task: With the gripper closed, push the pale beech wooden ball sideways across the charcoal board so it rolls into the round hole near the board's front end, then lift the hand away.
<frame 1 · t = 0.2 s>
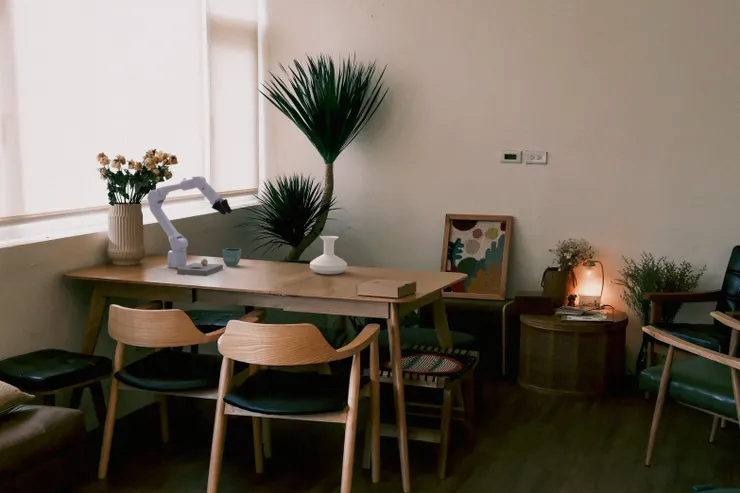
hand: (228, 212, 428), 30 cm above the table, tool tilted 45°, fingers open, 7 cm apart
flower pot: (231, 266, 447), on the table
board: (200, 271, 426), on the table
ball: (204, 262, 430), point 4 cm above the table, touching board
white vase: (328, 273, 432), on the table
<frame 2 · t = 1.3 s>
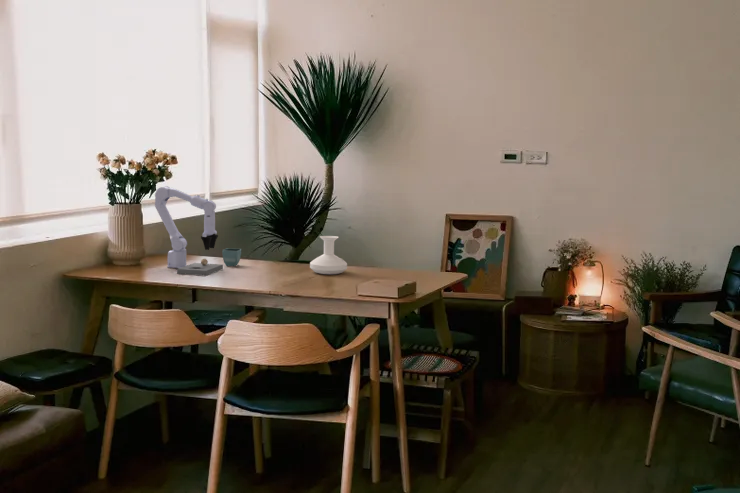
hand: (209, 248, 436), 10 cm above the table, tool pointing down, fingers open, 6 cm apart
nothing on the table moved.
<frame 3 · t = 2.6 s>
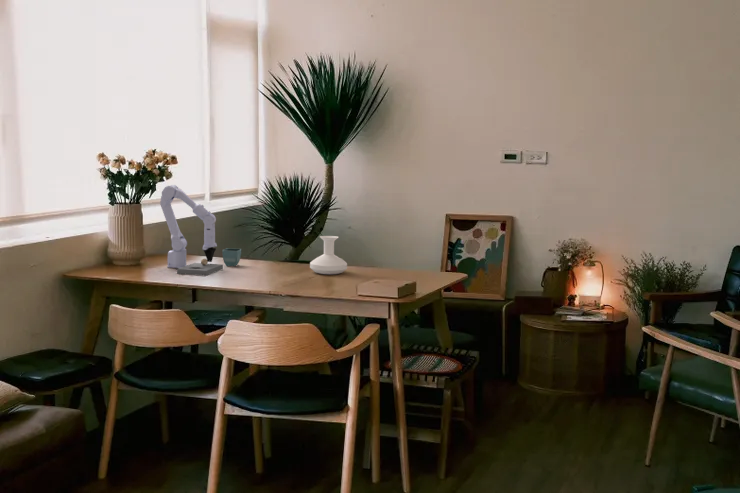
hand: (209, 261, 437), 3 cm above the table, tool pointing down, fingers closed
nothing on the table moved.
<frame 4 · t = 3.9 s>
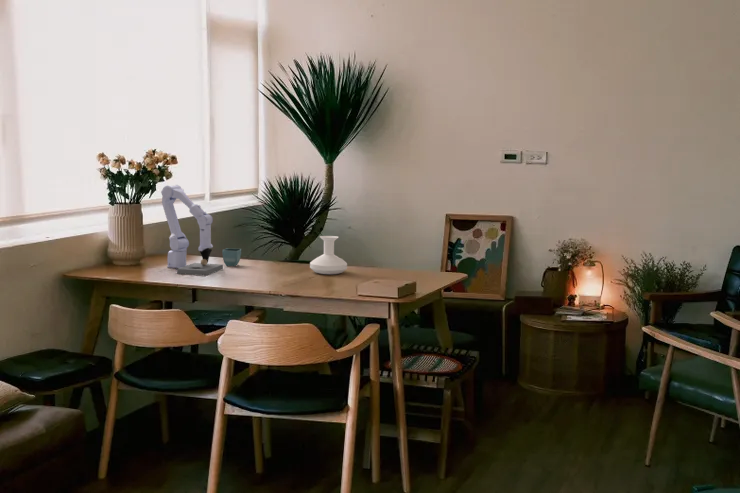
hand: (205, 262, 431), 4 cm above the table, tool pointing down, fingers closed, pressing on ball
ball: (204, 262, 429), point 4 cm above the table, tilted 17°, touching board, gripper
everything else where it was.
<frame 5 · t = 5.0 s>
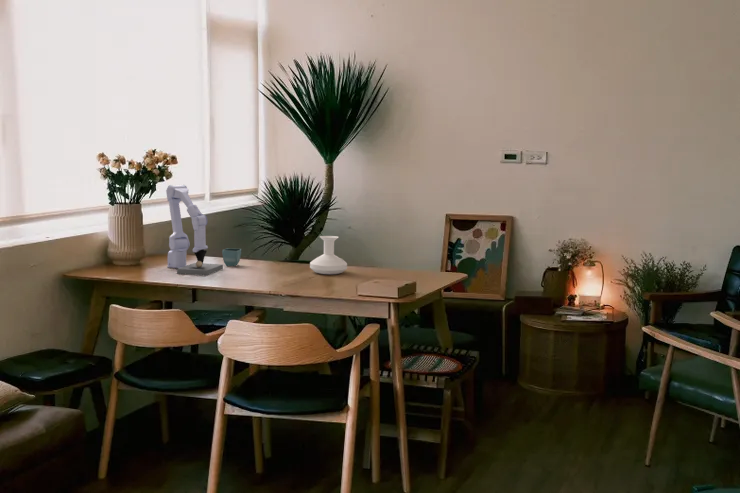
hand: (200, 264, 424), 4 cm above the table, tool pointing down, fingers closed, pressing on ball
ball: (199, 264, 423), point 4 cm above the table, tilted 113°, touching board, gripper
everything else where it was.
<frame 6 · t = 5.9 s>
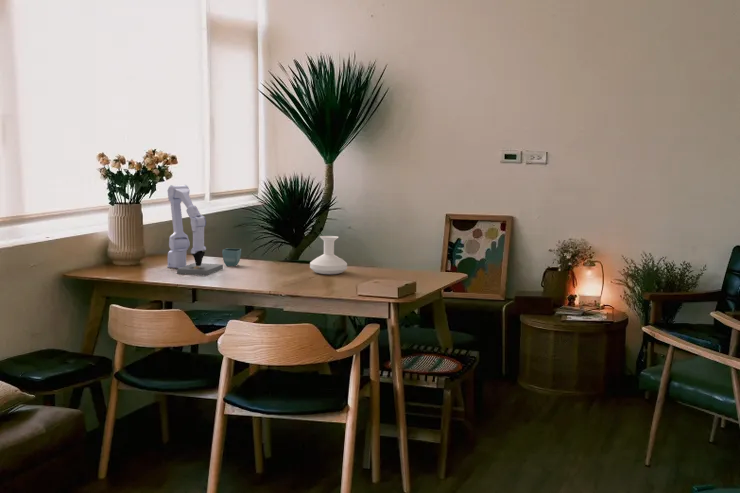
hand: (198, 265, 423), 3 cm above the table, tool pointing down, fingers closed
ball: (196, 269, 421), point 2 cm above the table, tilted 31°
everything else where it was.
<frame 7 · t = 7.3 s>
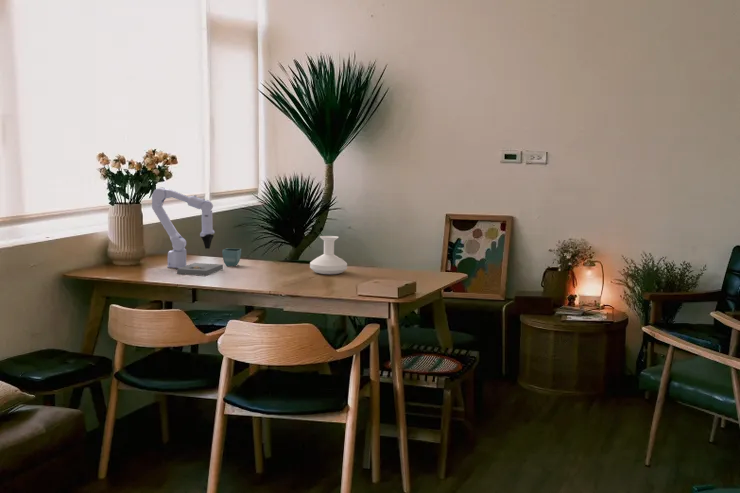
hand: (207, 248, 437), 10 cm above the table, tool pointing down, fingers closed
nothing on the table moved.
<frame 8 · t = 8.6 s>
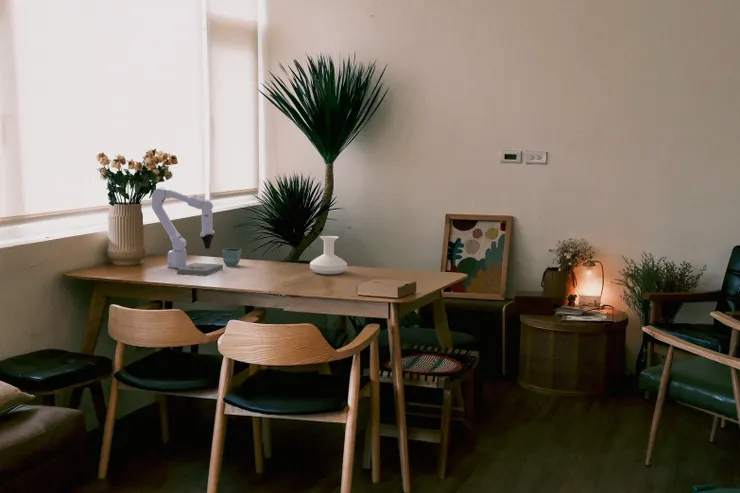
hand: (207, 248, 437), 10 cm above the table, tool pointing down, fingers closed
nothing on the table moved.
at the end: ball 0.3 cm from the target spot on the board, point 1.7 cm above the board's base; flower pot moved 0.2 cm from its start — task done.
